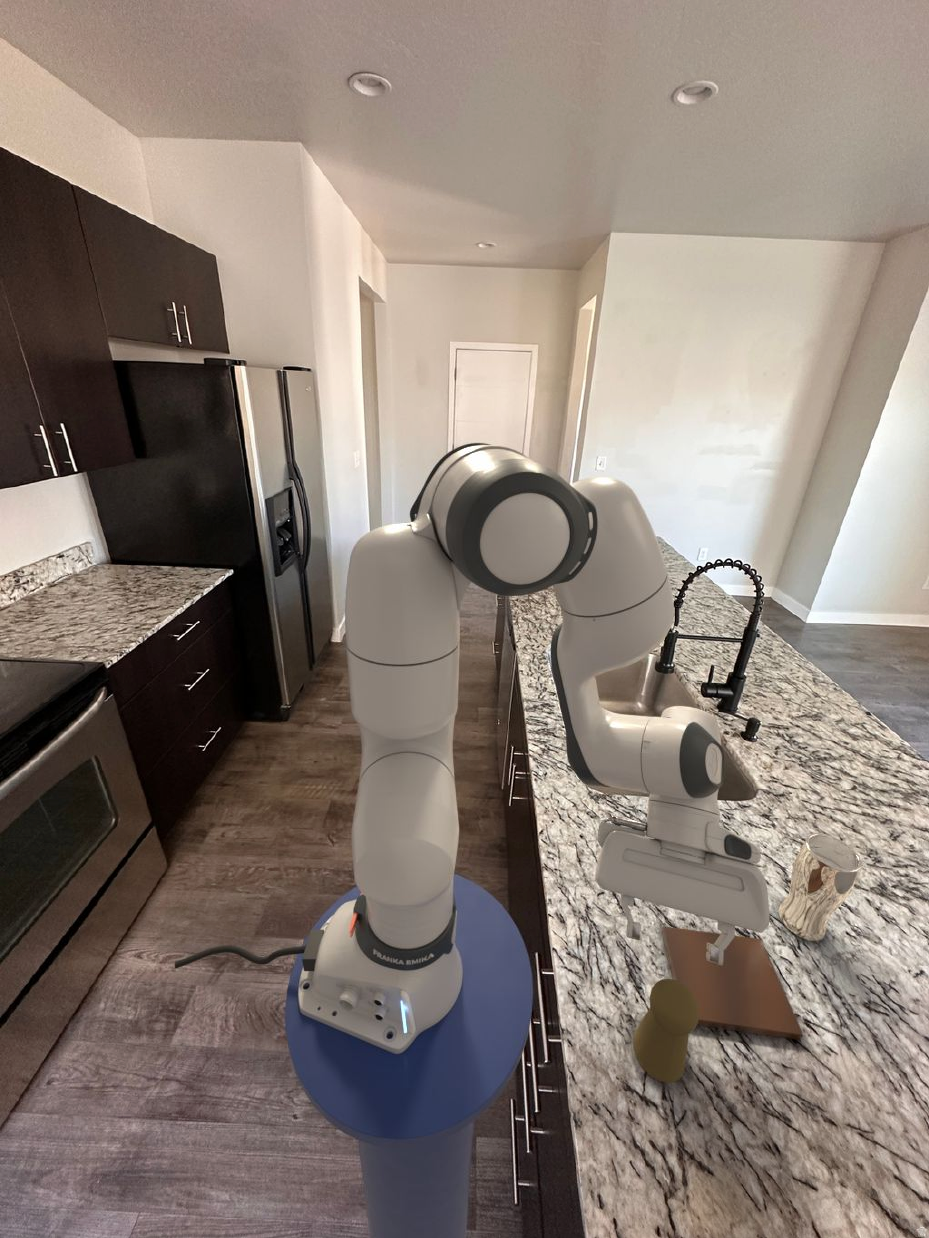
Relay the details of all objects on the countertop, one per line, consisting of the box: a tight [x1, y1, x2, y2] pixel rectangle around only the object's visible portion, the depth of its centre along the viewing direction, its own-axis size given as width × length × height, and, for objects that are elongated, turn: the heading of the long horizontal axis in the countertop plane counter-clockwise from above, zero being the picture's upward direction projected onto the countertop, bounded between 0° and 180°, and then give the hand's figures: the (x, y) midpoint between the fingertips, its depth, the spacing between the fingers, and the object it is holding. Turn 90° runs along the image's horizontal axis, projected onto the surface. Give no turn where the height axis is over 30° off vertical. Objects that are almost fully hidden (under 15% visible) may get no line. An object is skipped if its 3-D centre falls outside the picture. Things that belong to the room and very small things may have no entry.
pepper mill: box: [632, 978, 699, 1084], centre depth 57 cm, size 6×6×11 cm
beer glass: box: [778, 832, 863, 942], centre depth 72 cm, size 7×7×15 cm
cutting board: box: [660, 925, 804, 1041], centre depth 67 cm, size 14×12×1 cm
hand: (672, 950), depth 60 cm, fingers open, 8 cm apart
